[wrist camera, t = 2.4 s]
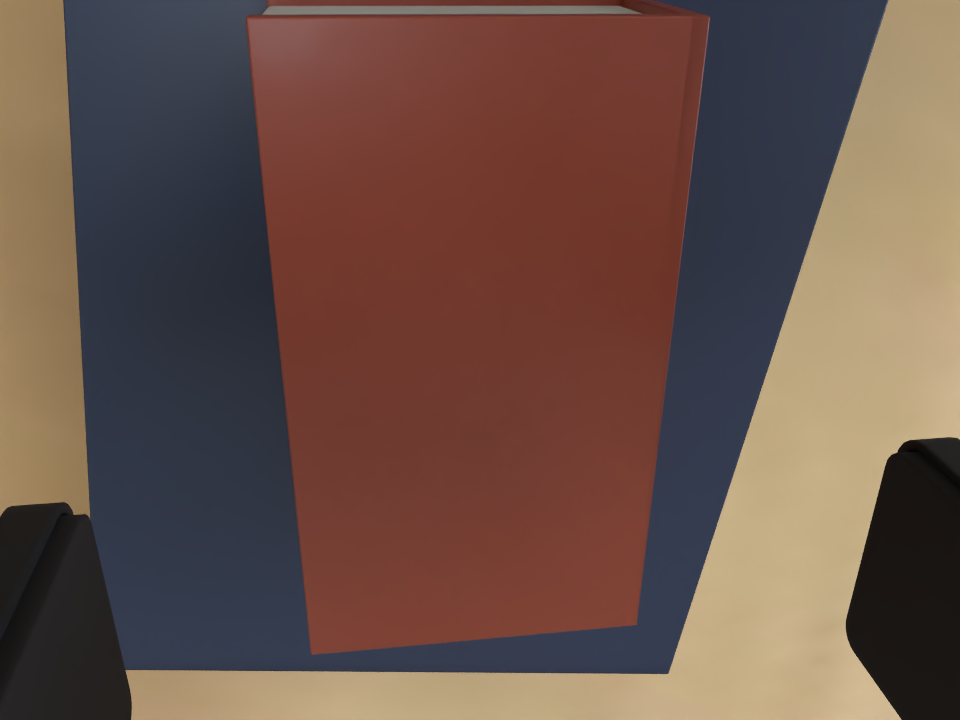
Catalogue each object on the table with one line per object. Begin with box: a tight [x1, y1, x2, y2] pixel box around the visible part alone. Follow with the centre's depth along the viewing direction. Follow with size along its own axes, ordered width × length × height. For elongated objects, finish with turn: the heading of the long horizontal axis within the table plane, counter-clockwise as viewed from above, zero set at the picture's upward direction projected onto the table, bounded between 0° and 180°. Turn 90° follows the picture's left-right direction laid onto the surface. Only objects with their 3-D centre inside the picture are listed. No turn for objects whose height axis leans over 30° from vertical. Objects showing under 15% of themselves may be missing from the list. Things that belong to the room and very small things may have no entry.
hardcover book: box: [63, 0, 888, 674], centre depth 18 cm, size 14×20×3 cm
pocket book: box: [245, 0, 710, 655], centre depth 16 cm, size 6×11×4 cm, turn 179°
